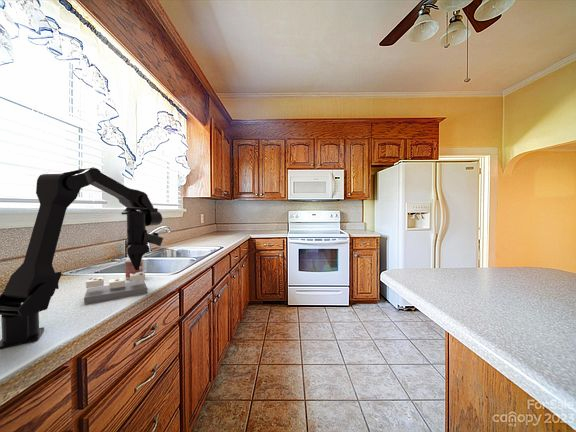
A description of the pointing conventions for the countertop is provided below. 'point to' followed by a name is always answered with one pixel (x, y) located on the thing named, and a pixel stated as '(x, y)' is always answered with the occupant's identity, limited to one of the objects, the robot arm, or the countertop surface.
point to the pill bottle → (131, 267)
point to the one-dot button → (117, 283)
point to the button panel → (114, 292)
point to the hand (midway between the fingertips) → (137, 270)
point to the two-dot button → (137, 276)
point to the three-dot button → (95, 282)
